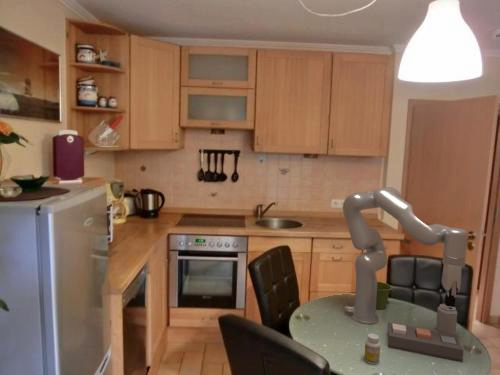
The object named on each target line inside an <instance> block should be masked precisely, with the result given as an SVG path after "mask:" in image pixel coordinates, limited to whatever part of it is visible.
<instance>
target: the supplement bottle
mask: <svg viewBox="0 0 500 375" xmlns="http://www.w3.org/2000/svg"><path fill="white" fill-rule="evenodd" d="M380 355H381V342H380V337H379V335H378V334H375V333H368V334H367V339H366V340H365V342H364V360H365V362H366V363H367V364H371V365H377V364H378V365H379V363H380V359H381V357H380Z"/></svg>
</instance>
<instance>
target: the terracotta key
mask: <svg viewBox="0 0 500 375" xmlns="http://www.w3.org/2000/svg"><path fill="white" fill-rule="evenodd" d="M427 329H428V328H423V329H422V327H417V328H416V337H419V338H424V339H429V340H431V333H430V330H431V329H429V330H427Z"/></svg>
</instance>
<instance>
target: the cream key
mask: <svg viewBox="0 0 500 375" xmlns="http://www.w3.org/2000/svg"><path fill="white" fill-rule="evenodd" d="M392 323H393V324H392V333H397V334H403V335H406V326H407V325H406V324H405V325H406V326H405V325H404V324H400V325H399V323H395V322H392ZM394 323H395V324H394Z"/></svg>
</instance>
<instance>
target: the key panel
mask: <svg viewBox="0 0 500 375" xmlns="http://www.w3.org/2000/svg"><path fill="white" fill-rule="evenodd" d="M393 323H394V324H396V323H395V322H388V323H387V348H389V349H395V350H399V351H404V352H408V353H414V354H419V355H424V356H429V357H432V358H433V357H435V358H438V359H444V360H449V361H453V362H458V363H463V359H464V358H463V357H464V348H463V346H462V343H461V341H460V339H459V337H458V335H457V334H456V333H455V334H451V333H445V332H440V331H437V330H433V329H428V328H426V329H427V330H430V333H431V340H429V339H424V338H419V337H416V328H418V327H416V326H411V325H406V324H405V326H406V335H403V334H397V333H392V324H393ZM398 324H399V323H398ZM399 325H401V324H399ZM421 328H422V327H421ZM422 329H424V328H422ZM440 335H442V336H448V337H453V338H455V340H456V343H457V345H456V344H451V343H446V342H442V341H441V338H440Z"/></svg>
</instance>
